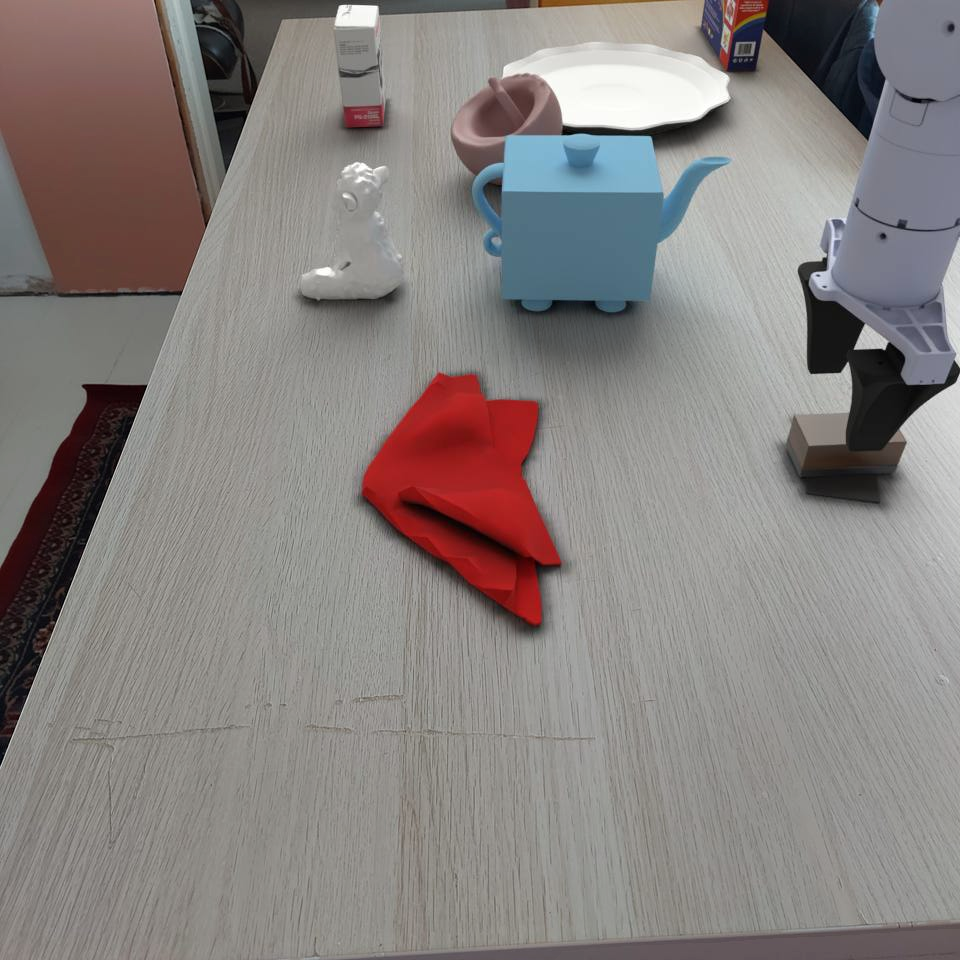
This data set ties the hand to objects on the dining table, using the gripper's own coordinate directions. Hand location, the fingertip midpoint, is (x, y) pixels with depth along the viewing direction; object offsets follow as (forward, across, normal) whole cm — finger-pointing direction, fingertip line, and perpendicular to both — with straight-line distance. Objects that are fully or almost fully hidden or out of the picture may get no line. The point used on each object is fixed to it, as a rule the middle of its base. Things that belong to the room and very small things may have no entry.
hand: (843, 407), depth 57 cm
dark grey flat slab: (+9, -5, +4) cm, 11 cm away
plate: (+9, -75, -3) cm, 75 cm away
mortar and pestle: (+9, -53, -18) cm, 57 cm away
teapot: (+9, -30, -11) cm, 34 cm away
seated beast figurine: (+9, -32, -33) cm, 47 cm away
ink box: (+9, -73, -34) cm, 81 cm away
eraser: (+9, -5, +4) cm, 11 cm away
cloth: (+9, -4, -24) cm, 26 cm away
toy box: (+9, -93, +16) cm, 95 cm away
